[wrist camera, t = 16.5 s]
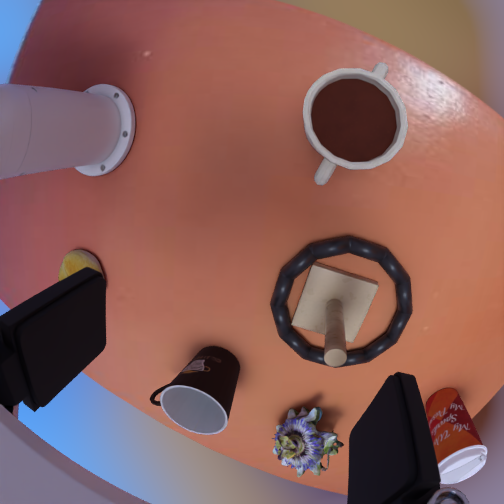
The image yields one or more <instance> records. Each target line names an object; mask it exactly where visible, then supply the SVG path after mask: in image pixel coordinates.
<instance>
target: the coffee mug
mask: <svg viewBox="0 0 504 504" xmlns="http://www.w3.org/2000/svg"><path fill="white" fill-rule="evenodd" d="M239 371H240V365H239V362H238V360H237V358H236V357H235V356H234V355H233V354H232V353H231V352H229V351H228V350H226V349H224V348H221V347H217V346H209V347H206V348H203V349H202V350H201V351H200V352H199V353H198V354H197V355H196V356H195V357H194V358H193V359H192V361H191V362H190V363H189V364H188V365H187V366H186V367H185V368H184V369H183V370H182V371H181V372H180V373H179V374H178V375H177V377H176V378H175V379H174V380H173V381H172V382H171V383H170V384H167V385H165V386H163V387H161V388H160V389H158V390H156V391H155V392H154V393H153V394H152V395H151V397H150V401H151V403H152V404H154V405H157V406H162V408H163V410H164V412H165V413H166V415H167V416H168V417H169V418H170V419H171V420H172V421H173V422H175V423H176V424H177V425H179V426H180V427H182V428H184V429H186V430H188V431H191V432H194V433H198V434H204V435H212V434H217V433H219V432H221V431H223V430H224V429H225V428H226V426H227V423H228V419H229V414H230V410H231V406H232V402H233V397H234V393H235V389H236V384H237V380H238V376H239ZM162 391H163V392H162ZM160 392H162V393H161V396H160V401H155V400H154V399H155V397H156V395H157V394H159V393H160Z"/></svg>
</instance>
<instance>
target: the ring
mask: <svg viewBox="0 0 504 504" xmlns="http://www.w3.org/2000/svg"><path fill="white" fill-rule="evenodd" d="M346 253H351V254H354V255H357V256H360V257H363V258H366V259H369V260H372V261H375V262H378V263H379V264H380V265H381V267H382V268H383V269H384V270H385V271H386V273H387V274H388V275H389V276H390V277H391V279H392V280H393V281H394V282H395V284H396V293H397V304H398V310H397V313H396V315H395V317H394V319H393V321H392V323H391V325H390V327H389V329H388V331H387V333H386V334H384V335H383V336H382V337H380V338H379V339H378V340H376V341H375V342H373V343H372V344H371V345H369V346H368V347H366V348H365V349H362V350H356V351H351V352H347V359H346V361H345V363H344V364H343V365H341V366H338V367H344V366H350V365H356V364H362V363H367V362H370V361H371V360H373V359H374V358H376V357H377V356H379V355H380V354H382V353H383V352H384V351H386V350H387V349H389V348H390V347H391V346H393V345H394V344H396V343H397V341H398V339H399V338H400V336H401V334H402V332H403V330H404V328H405V326H406V324H407V322H408V320H409V318H410V316H411V314H412V311H413V309H412V294H411V282H410V276H409V275H408V274H407V272H406V271H405V270H404V268H403V267H402V266H401V265H400V263H399V262H398V261H397V260H396V258H395V257H394V256H393V255H392V253H391V252H390V251H389V250H388V249H387V248H385V247H383V246H380V245H377V244H374V243H371V242H368V241H365V240H362V239H359V238H356V237H353V236H345V237H340V238H336V239H331V240H326V241H321V242H317V243H312V244H309V245H308V246H307V247H306V248H305V249H304V250H303V251H301V252H300V253H299V254H298V255H297V256H296V257H295V258H293V259H292V260H291V261H290V262H289V263H288V264H287V265H285V266H284V267H283V268H282V269H281V271H280V273H279V277H278V280H277V283H276V286H275V290H274V293H273V296H272V299H271V303H270V306H271V310H272V313H273V317H274V320H275V324H276V327H277V331H278V334H279V337H280V338H281V339H282V340H283V341H284V342H286V343H287V344H288V345H289V346H290V347H291V348H292V349H293V350H294V351H295V352H296V353H297V354H298V355H299V356H300V357H302V358H303V359H305V360H309V361H312V362H316V363H319V364H323V365H326V366H329V365H327V364H326V362H325V361H324V350H321V349H318V348H314V347H311V346H310V345H309V344H308V343H307V342H306V341H305V340H303V339H302V338H301V337H300V336H299V335H298V334H297V333H296V332H295V331H294V330H293V329H292V326H291V322H290V318H289V314H288V310H287V306H286V303H287V300H288V297H289V294H290V291H291V288H292V285H293V282H294V279H295V278H296V277H297V276H299V275H300V274H301V273H302V272H303V271H304V270H306V269H307V268H308V267H309V266H310V265H312V264H313V263H314V262H315V261H316V260H317V259H322V258H327V257H332V256H336V255H341V254H346ZM330 367H332V366H330ZM338 367H334V368H338Z"/></svg>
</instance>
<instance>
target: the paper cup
mask: <svg viewBox="0 0 504 504" xmlns="http://www.w3.org/2000/svg"><path fill="white" fill-rule="evenodd" d="M426 412H427V418H428V424H429V428H430V432H431V436H432V441H433V445H434V449H435V454H436V458H437V463H438V468H439V473H440V478H441V482H440V483H443V484H452V483H457V482H460V481H462V480H465V479H467V478H469V477H470V476H472V475H474V474H475V473H476V472H478V471H479V470H480V469H481V468H482V467H483V466H484V464H485V462H486V455H487V448H486V447H485V446H484V445H483V444H482V442H481V440H480V438H479V435H478V433H477V431H476V428H475V427H474V424H473V422H472V419H471V417H470V415H469V413H468V411H467V409H466V407H465V406H464V404H463V402H462V400H461V398H460V396H459V394H458V392H457V391H456V390H455V389H453V388H445V389H442V390H439V391H437V392H436V393H434V394H433V395H432V396H431V397H430V398H429V399H428V401H427V403H426Z"/></svg>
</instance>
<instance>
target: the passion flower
mask: <svg viewBox="0 0 504 504" xmlns="http://www.w3.org/2000/svg"><path fill="white" fill-rule="evenodd" d="M321 416H322V410H321V408H320V407H315V408H313V409H312V410H311V412H309V410H308V409H307V408H305V407H304V406H303V407H302V409H301V412H300V413H298V412H297V411H296V410H294V409H290V410H289V412H288V419H286V421H285V423H284V424H282V425H277V426H276V428H277V434H274V435H276V437H275V438H272V439H275V440H276V443H275V444H276V445H275V446H274V447H275V448H274V449H273V453H274V454H277V455H279V456H278V459H279V460H282V463H281V464H282V465H284V466H287V465H291V464H292V466H291V468H293V467H296V468H295V469H297V470H298V471H297V477H300V476H301V475H303V474H304V472H305V470H306V469H308V468H310V470H311V471H313V473H314V474H315V475H320V468H321V470H322V471H326V470H327V469H328V465H329V455H336V454H337V453H338V448H339V447H342V446H344V444H343V443H341V442H340V441H338V440H337V436H338V435H337V434H336V433H334V432H333V431H332V432H325V431H323V432H319V431H317V430H316V428H315V427H316V424H317V422H318V421H319V420H320V419H321ZM334 443H337V445H335V446H334V445H333V444H334ZM325 454H328V459H327V460H328V463H327V468H325V467H323V466H322V463H321V462H320V459H321V458H323V455H325ZM287 467H288V466H287Z"/></svg>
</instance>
